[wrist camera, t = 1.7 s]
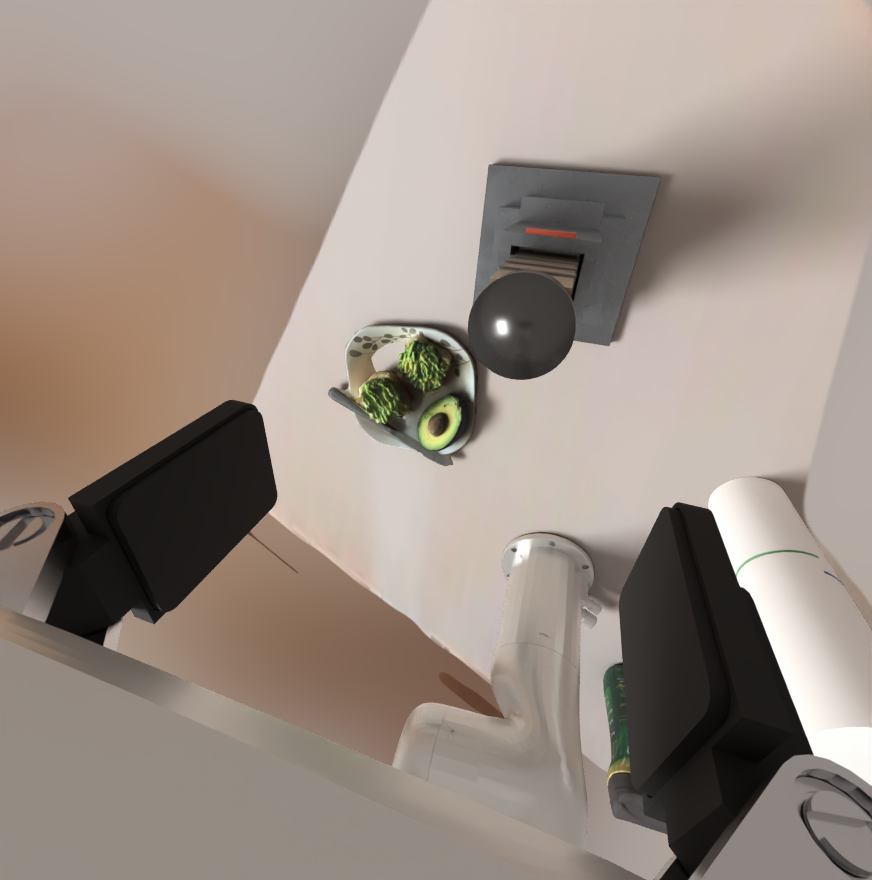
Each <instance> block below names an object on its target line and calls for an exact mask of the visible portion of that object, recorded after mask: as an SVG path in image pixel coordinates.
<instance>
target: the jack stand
mask: <svg viewBox="0 0 872 880" xmlns="http://www.w3.org/2000/svg"><path fill="white" fill-rule="evenodd" d="M660 179H661V177H650V176H637V175H623V174H610V173H596V172H583V171H569V170H556V169H542V168H529V167H515V166H502V165H489V167H488V176H487V185H486V193H485V202H484V211H483V220H482V229H481V238H480V246H479V255H478V264H477V273H476V282H475V290H474V299H473V305H474V302H475V301H476V299H477V298H478V296H479V295H480V294H481V293H482V291H483V290H484V289H485V288H486V287H487V286H488V285H489V282H490V277H491V276H492V275H493V274H494V273H495V272H496V271H497V270H498V266H499V265H504V261H505V259H507V260H509V258H510V255H514V254H515V253H516V252H517V251H518V250H519V247H529V248H538V249H546V250H555V251H564V252H572V253H580V254H579V259H578V267H577V268H578V269H577V273H576V274H577V276H576V280H575V284H574V289H573V293H572V297H571V298H572V300H573V303H574V306H575V310H576V330H575V337H574V341H580V342H587V343H593V344H599V345H605V346H609V345H610V342H611V339H612V335H613V332H614V329H615V326H616V322H617V319H618V316H619V313H620V309H621V306H622V303H623V300H624V296H625V293H626V290H627V287H628V283H629V280H630V277H631V274H632V270H633V267H634V264H635V261H636V257H637V254H638V251H639V248H640V244H641V241H642V238H643V235H644V231H645V228H646V225H647V222H648V218H649V215H650V212H651V209H652V205H653V202H654V199H655V196H656V192H657V189H658V186H659V182H660Z"/></svg>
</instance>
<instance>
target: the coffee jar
mask: <svg viewBox="0 0 872 880" xmlns="http://www.w3.org/2000/svg"><path fill="white" fill-rule="evenodd" d="M603 683H604V695H605V702H606V709H607V715H608V722H609V729H610V738H611V755H612V760H611V764H610V767H609V770H608V775H607V785H608V791H609V796H610V803H611V808H612V812H613V815H614V816H615V818H617V819H621V820H625V821H629V822H632V823H635V824H638V825H641V826H644V827H646V828H649V829H653V830H656V831H659V832H662V833H665V834H667V826H666V823H664V822H661V821H658V820H656V819H653V818H651V817H648V816H646V815H644V811H643V799H642V793H641V792H639V791H636V790H635V789H634V788H633V786H632V782H631V775H630V760H629V746H628V731H627V716H626V702H625V687H624V673H623V665H615V666H612V667H610V668H609V669H608V670H607V671H606V673H605V676H604V680H603Z"/></svg>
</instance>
